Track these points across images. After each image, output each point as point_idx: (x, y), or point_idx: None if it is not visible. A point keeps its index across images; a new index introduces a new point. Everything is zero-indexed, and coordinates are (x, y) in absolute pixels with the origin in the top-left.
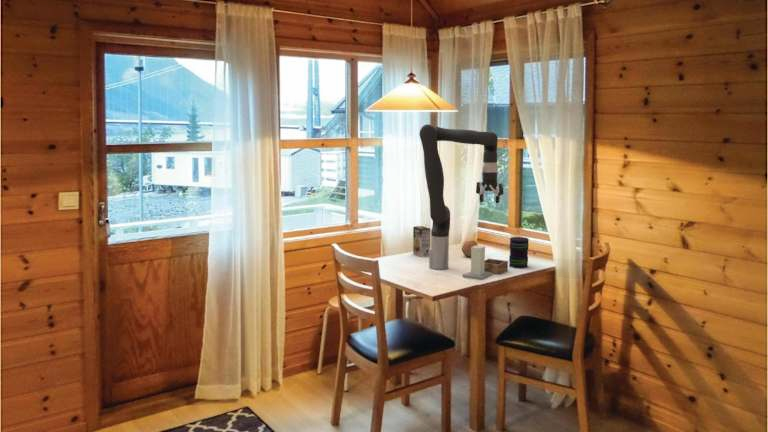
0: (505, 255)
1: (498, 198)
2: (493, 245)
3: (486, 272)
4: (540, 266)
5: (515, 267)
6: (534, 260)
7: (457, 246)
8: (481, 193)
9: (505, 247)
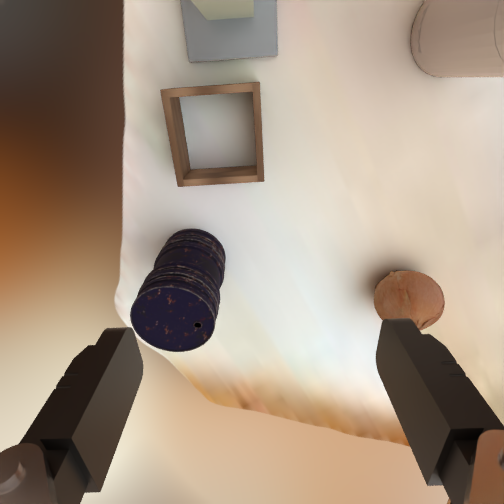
0: (301, 352)
1: (45, 409)
2: (382, 425)
3: (207, 44)
4: None
5: (187, 229)
6: None
7: (481, 373)
8: (484, 476)
9: (343, 422)
